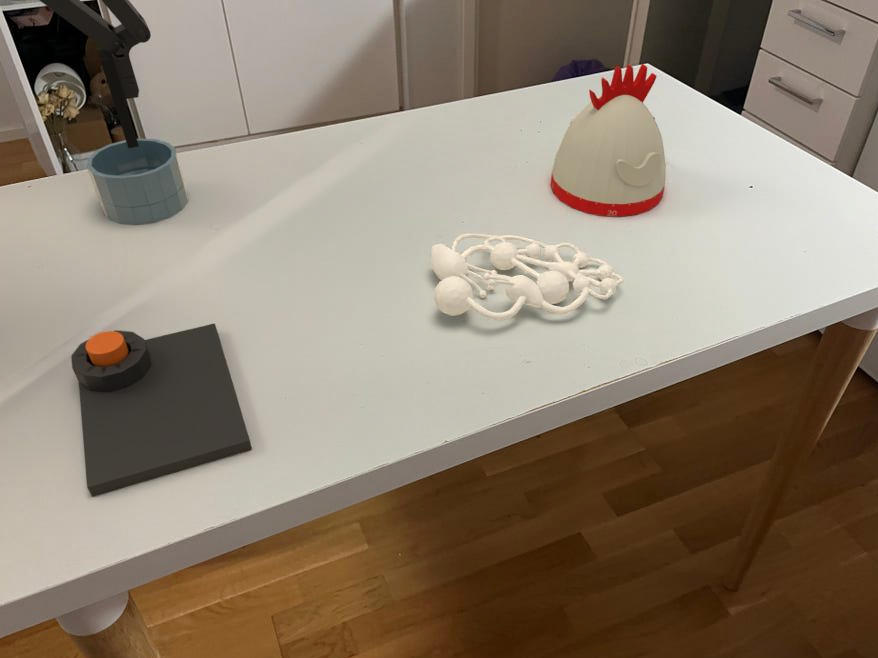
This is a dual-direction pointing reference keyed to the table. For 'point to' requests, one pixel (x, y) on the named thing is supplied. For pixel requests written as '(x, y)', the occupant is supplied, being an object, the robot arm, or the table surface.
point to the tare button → (107, 348)
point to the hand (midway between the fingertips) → (34, 157)
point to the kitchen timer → (612, 151)
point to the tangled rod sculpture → (547, 290)
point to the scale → (157, 409)
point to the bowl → (138, 181)
